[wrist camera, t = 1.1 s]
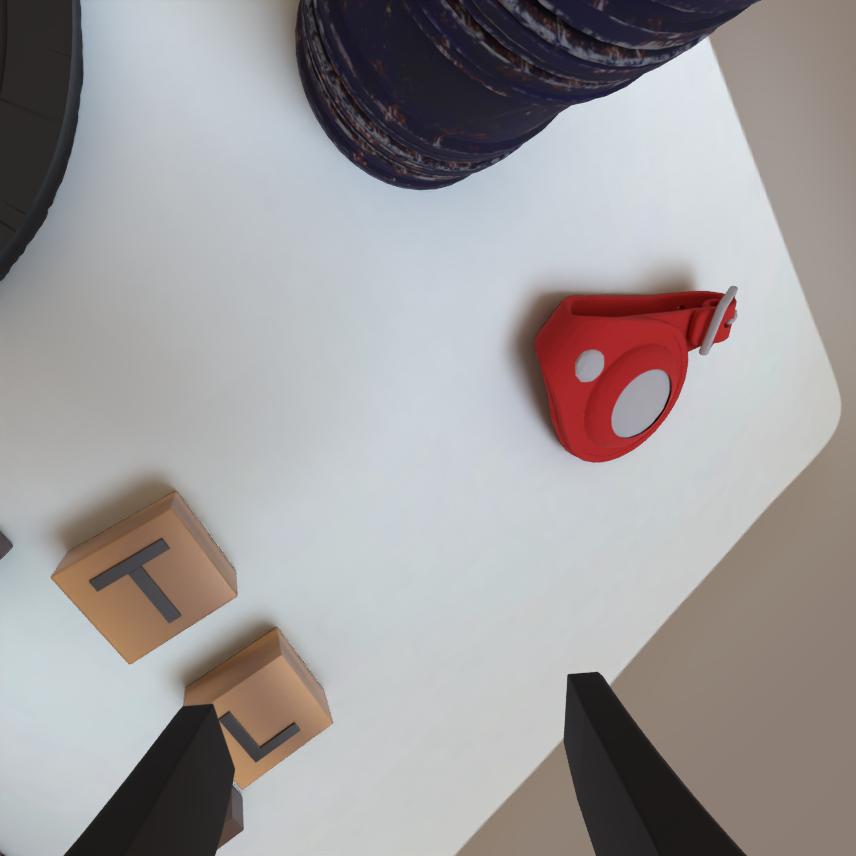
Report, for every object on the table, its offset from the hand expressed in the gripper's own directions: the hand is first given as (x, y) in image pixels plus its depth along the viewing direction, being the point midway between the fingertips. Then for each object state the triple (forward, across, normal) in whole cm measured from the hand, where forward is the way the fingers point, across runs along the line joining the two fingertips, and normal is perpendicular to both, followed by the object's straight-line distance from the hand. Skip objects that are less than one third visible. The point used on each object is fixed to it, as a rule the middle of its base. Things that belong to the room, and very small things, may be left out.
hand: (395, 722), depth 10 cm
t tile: (+11, +11, +3) cm, 15 cm away
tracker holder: (+20, -12, -1) cm, 23 cm away
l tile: (+10, +8, +11) cm, 17 cm away
